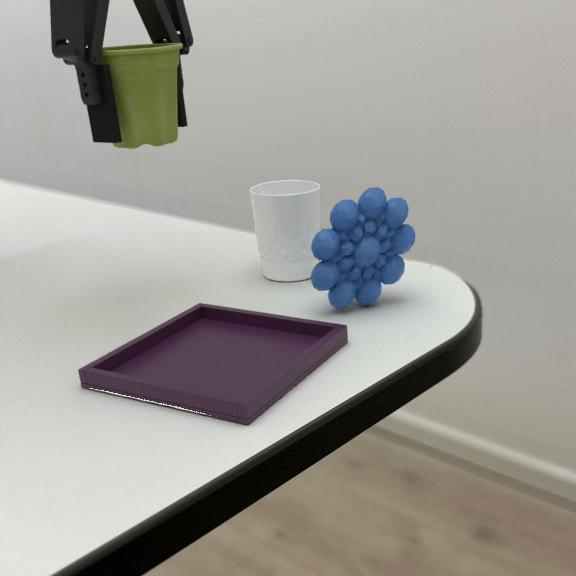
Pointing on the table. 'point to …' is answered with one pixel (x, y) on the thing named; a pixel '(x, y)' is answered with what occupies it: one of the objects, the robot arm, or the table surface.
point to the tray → (217, 360)
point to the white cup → (286, 227)
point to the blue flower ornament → (362, 248)
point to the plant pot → (145, 92)
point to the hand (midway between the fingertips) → (142, 133)
